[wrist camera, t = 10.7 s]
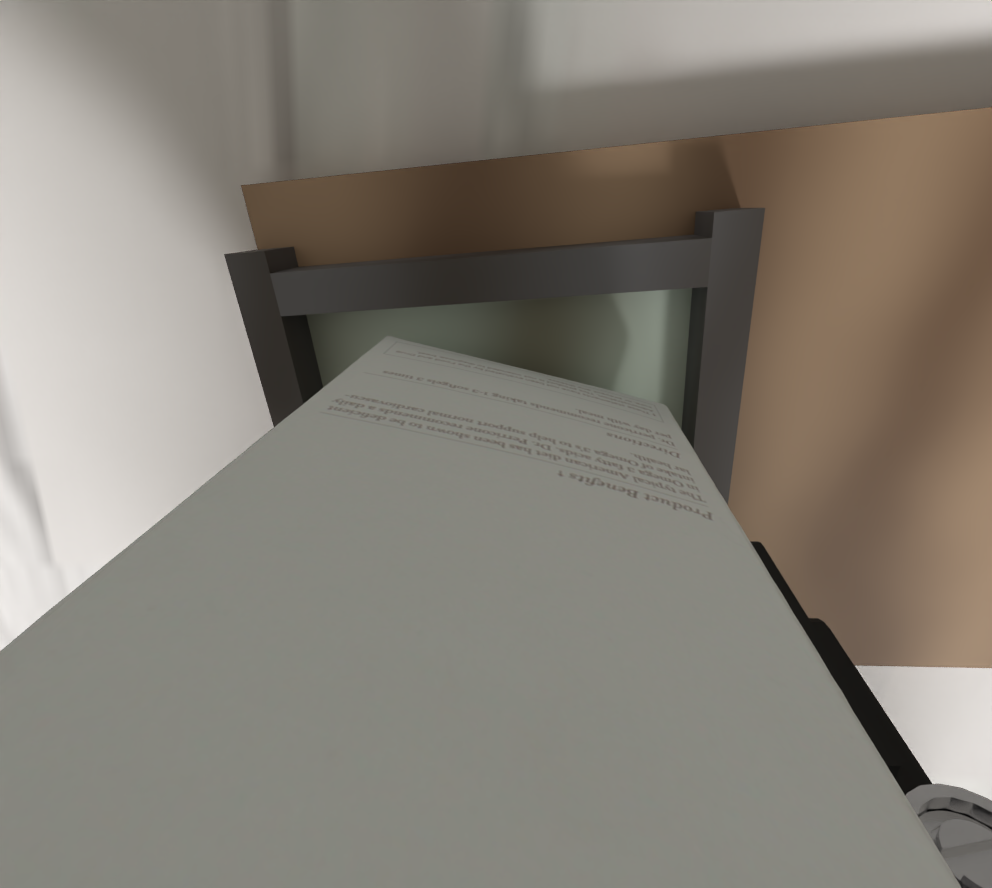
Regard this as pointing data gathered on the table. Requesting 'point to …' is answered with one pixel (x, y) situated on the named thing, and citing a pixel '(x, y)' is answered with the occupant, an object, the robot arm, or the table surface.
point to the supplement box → (444, 668)
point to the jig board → (705, 331)
